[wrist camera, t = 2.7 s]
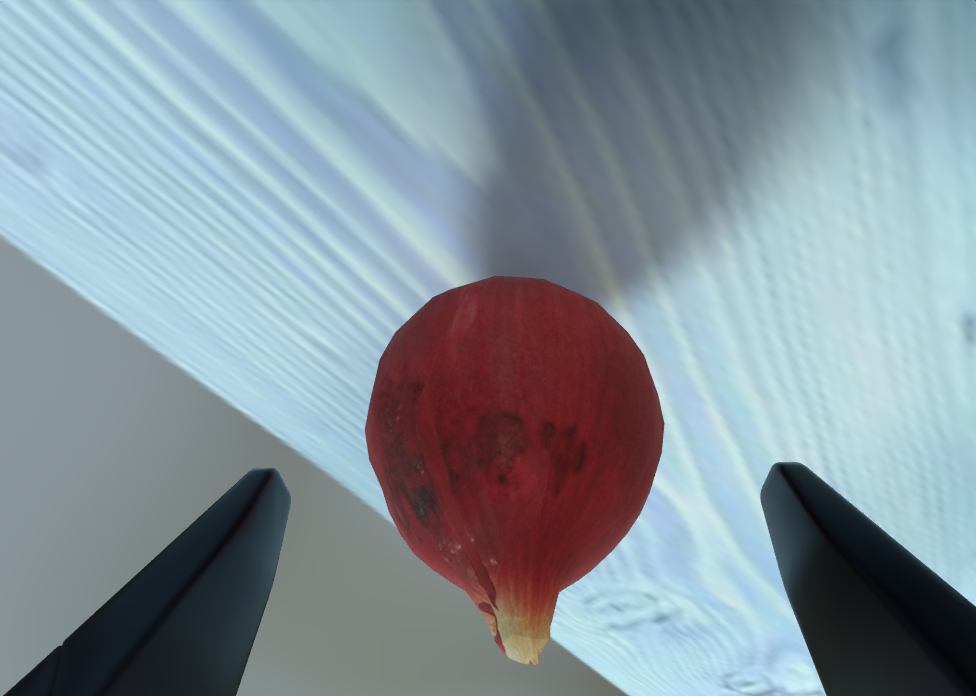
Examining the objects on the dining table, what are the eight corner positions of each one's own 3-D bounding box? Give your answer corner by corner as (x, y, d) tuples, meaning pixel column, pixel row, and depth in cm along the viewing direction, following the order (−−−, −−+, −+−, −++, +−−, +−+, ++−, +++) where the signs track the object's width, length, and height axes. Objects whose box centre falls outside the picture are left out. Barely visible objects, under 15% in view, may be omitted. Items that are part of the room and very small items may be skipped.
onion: (360, 319, 13) (224, 646, 7) (507, 160, 10) (500, 467, 4) (514, 422, 16) (516, 737, 9) (669, 315, 13) (820, 661, 6)
